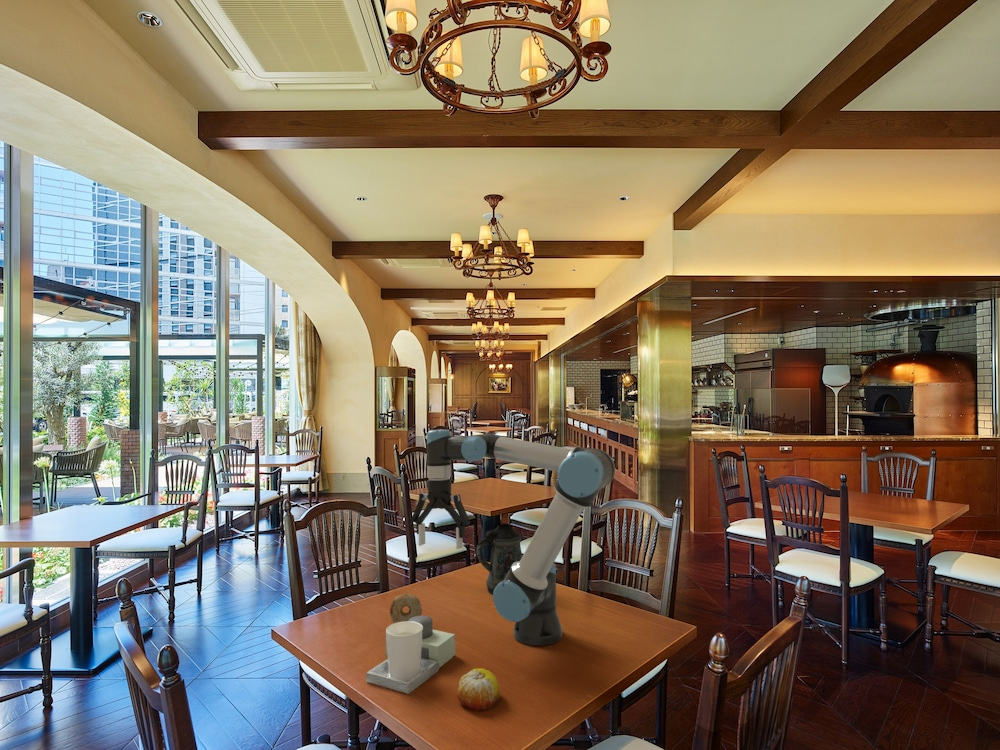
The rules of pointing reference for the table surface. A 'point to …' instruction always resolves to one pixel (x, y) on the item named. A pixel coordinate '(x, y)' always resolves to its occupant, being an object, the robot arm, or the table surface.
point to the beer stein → (499, 553)
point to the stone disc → (400, 602)
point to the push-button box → (434, 641)
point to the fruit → (478, 689)
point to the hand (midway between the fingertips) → (440, 546)
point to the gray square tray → (381, 678)
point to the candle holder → (404, 649)
